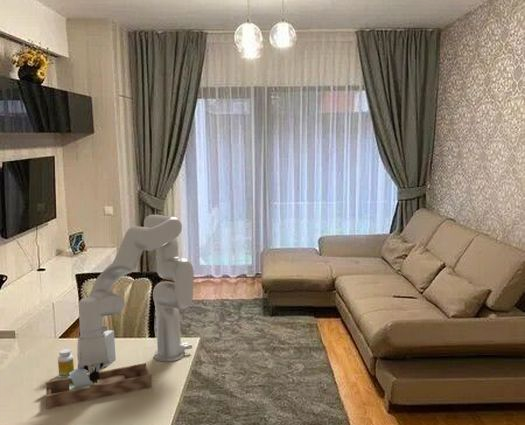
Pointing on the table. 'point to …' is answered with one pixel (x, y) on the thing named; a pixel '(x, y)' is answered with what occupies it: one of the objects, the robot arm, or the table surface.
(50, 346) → the table surface
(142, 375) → the box
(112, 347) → the supplement box
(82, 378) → the block
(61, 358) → the supplement bottle
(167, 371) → the table surface
